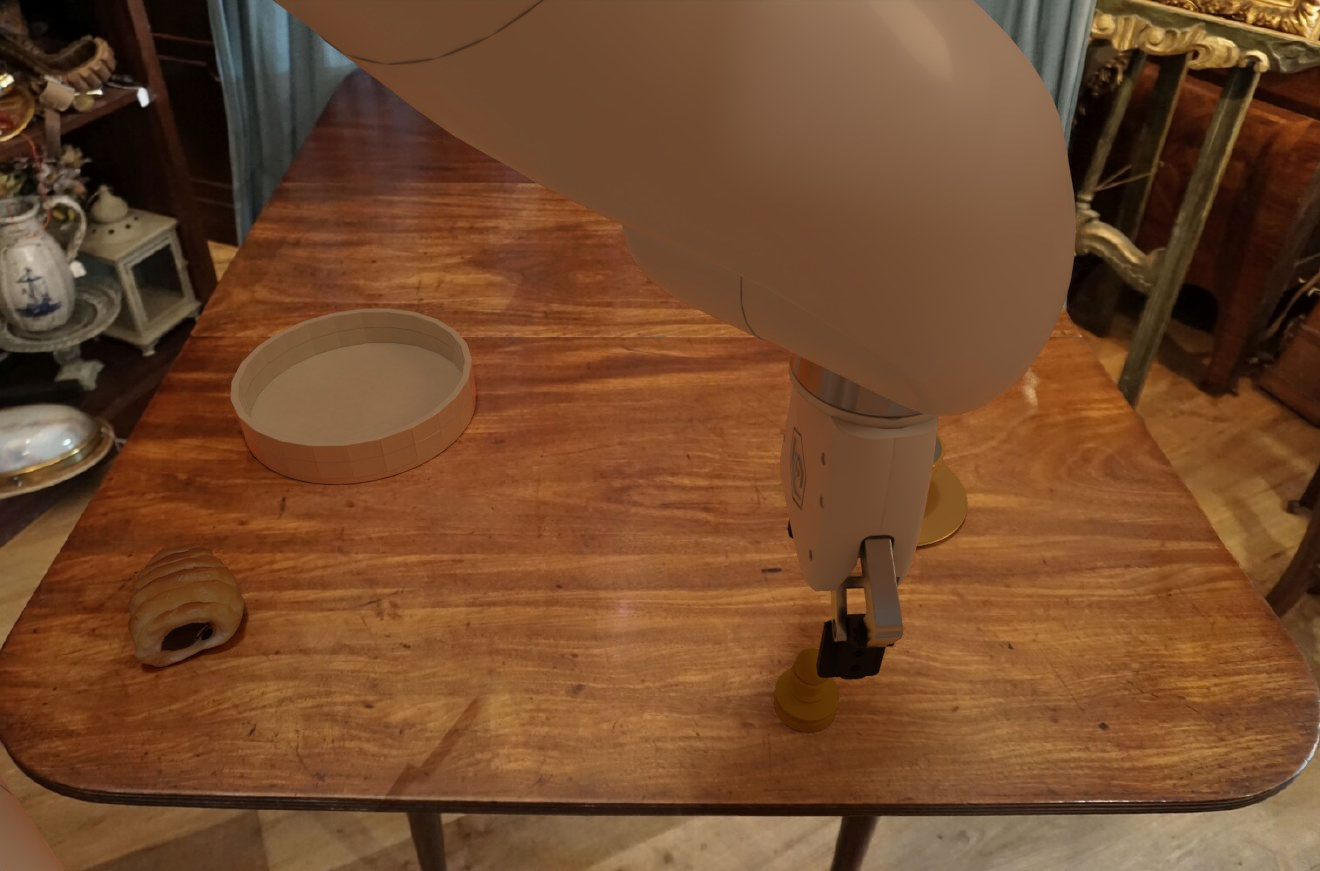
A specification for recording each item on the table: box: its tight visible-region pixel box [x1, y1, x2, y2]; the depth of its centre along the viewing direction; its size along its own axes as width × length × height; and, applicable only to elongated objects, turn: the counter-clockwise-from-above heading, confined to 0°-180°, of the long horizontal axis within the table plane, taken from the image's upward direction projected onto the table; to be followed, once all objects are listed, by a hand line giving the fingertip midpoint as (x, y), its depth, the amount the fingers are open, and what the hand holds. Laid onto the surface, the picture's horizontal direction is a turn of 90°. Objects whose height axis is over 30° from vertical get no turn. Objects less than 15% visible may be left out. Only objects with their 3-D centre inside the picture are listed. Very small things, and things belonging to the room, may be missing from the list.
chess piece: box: [773, 647, 841, 733], centre depth 57 cm, size 4×4×5 cm
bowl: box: [230, 307, 477, 485], centre depth 79 cm, size 19×19×4 cm
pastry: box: [127, 542, 245, 668], centre depth 62 cm, size 9×7×4 cm
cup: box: [917, 432, 969, 547], centre depth 71 cm, size 12×12×5 cm
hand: (829, 598), depth 52 cm, fingers open, 9 cm apart
